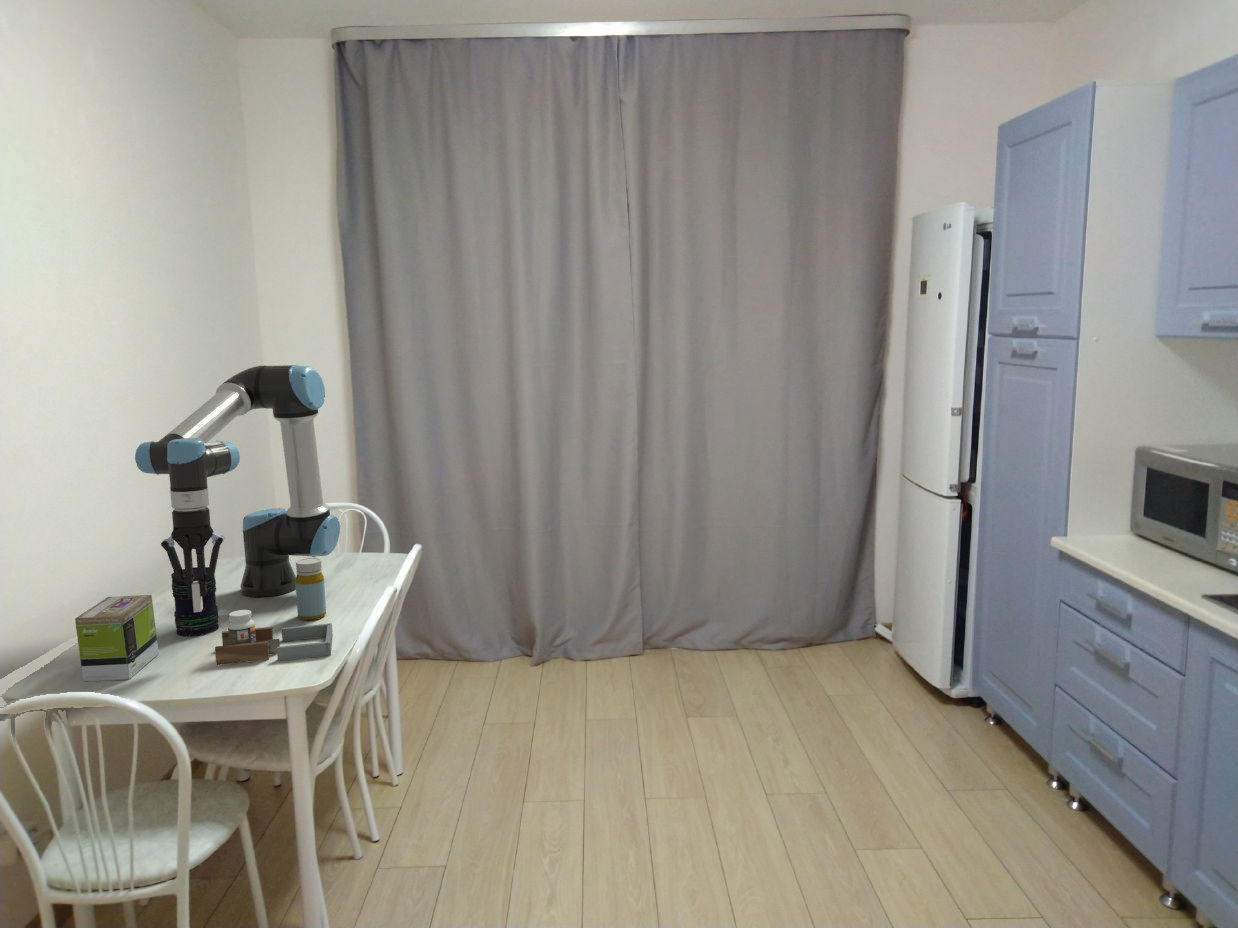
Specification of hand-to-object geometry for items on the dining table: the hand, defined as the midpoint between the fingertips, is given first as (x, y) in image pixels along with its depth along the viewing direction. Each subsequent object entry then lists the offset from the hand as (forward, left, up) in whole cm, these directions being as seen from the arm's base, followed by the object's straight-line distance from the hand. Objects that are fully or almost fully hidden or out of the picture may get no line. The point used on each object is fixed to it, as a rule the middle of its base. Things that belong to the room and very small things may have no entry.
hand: (198, 610), depth 198 cm
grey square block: (0, +14, -12) cm, 19 cm away
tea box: (+1, -16, -12) cm, 20 cm away
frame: (0, +22, -12) cm, 25 cm away
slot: (0, +9, -12) cm, 15 cm away
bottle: (-23, +23, -12) cm, 35 cm away
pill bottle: (0, +9, -12) cm, 15 cm away
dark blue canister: (-21, -4, -12) cm, 25 cm away
